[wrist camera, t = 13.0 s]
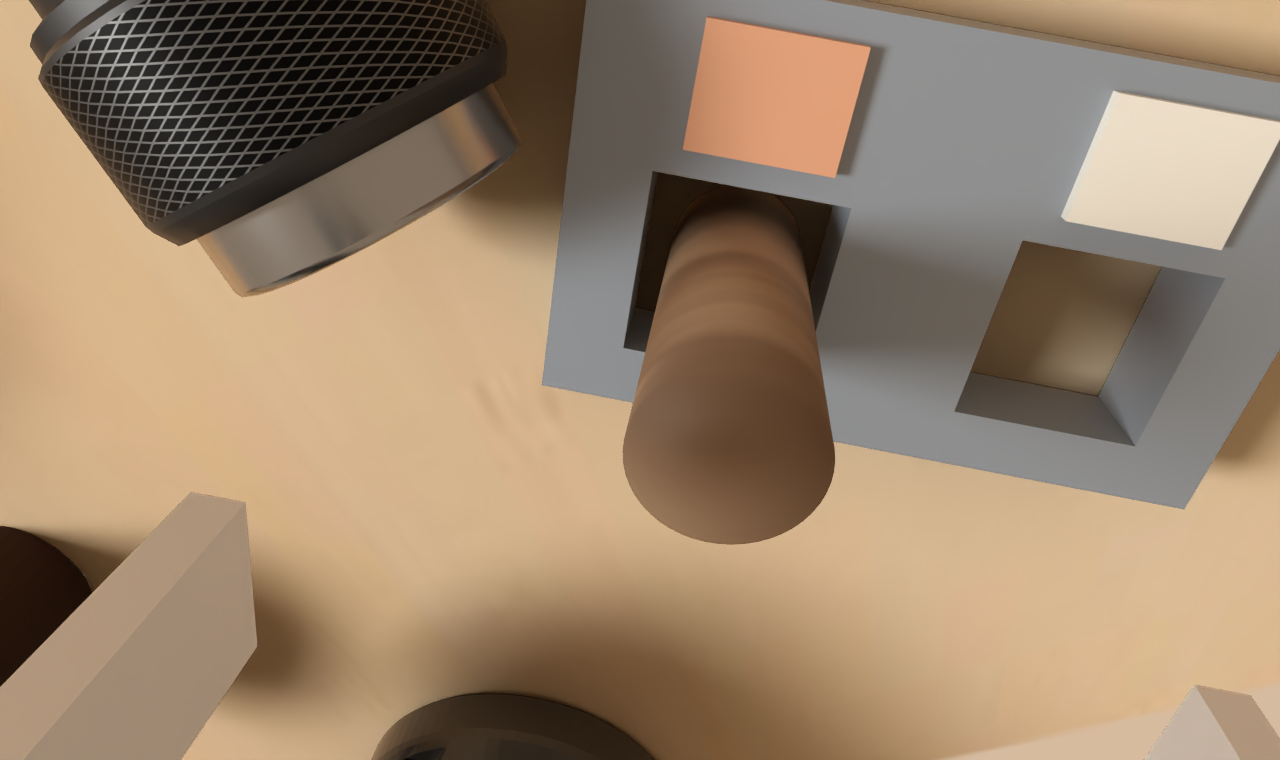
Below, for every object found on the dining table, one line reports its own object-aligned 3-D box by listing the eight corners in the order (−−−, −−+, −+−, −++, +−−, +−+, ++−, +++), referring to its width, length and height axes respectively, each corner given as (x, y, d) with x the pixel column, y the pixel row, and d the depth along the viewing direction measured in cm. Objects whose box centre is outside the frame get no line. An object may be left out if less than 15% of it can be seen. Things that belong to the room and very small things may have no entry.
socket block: (1143, 455, 28) (1190, 517, 25) (560, 342, 29) (539, 391, 26) (1344, 87, 22) (1435, 112, 19) (608, -47, 23) (588, -42, 20)
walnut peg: (782, 317, 27) (802, 562, 17) (662, 292, 27) (608, 521, 17) (815, 199, 25) (862, 392, 15) (686, 173, 26) (642, 347, 15)
